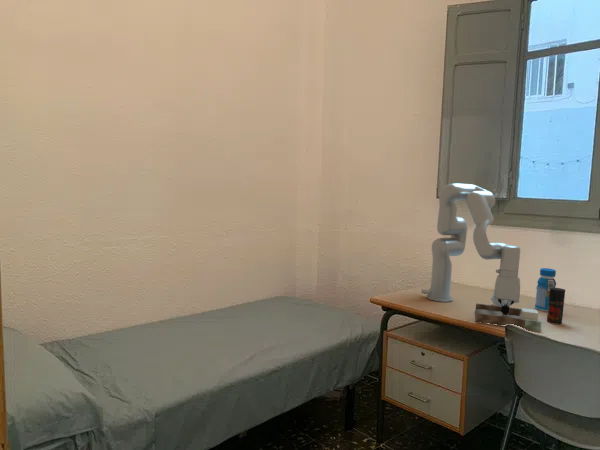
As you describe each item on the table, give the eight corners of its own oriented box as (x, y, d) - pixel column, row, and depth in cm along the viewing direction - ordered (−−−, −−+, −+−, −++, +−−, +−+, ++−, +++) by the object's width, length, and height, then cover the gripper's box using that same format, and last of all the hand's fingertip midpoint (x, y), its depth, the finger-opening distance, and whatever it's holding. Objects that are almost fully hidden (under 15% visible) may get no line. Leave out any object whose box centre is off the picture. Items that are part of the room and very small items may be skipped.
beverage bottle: (532, 309, 231) (536, 269, 229) (536, 306, 238) (540, 266, 236) (552, 313, 226) (556, 271, 224) (555, 309, 233) (559, 269, 231)
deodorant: (543, 319, 214) (547, 287, 212) (556, 320, 214) (559, 287, 213) (551, 324, 208) (555, 290, 206) (564, 324, 208) (568, 290, 207)
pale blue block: (521, 320, 204) (522, 311, 204) (520, 316, 210) (521, 308, 209) (537, 322, 202) (538, 313, 201) (535, 318, 207) (536, 309, 207)
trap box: (476, 322, 204) (477, 313, 204) (475, 311, 222) (476, 303, 222) (540, 331, 196) (541, 322, 196) (534, 319, 214) (535, 310, 214)
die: (508, 311, 228) (518, 294, 230) (492, 301, 229) (501, 284, 231) (500, 313, 236) (510, 296, 238) (485, 303, 237) (494, 286, 239)
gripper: (490, 273, 206) (486, 314, 208) (528, 277, 201) (524, 319, 203) (489, 270, 213) (486, 309, 215) (526, 273, 208) (522, 314, 210)
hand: (504, 314), depth 209 cm, fingers closed
